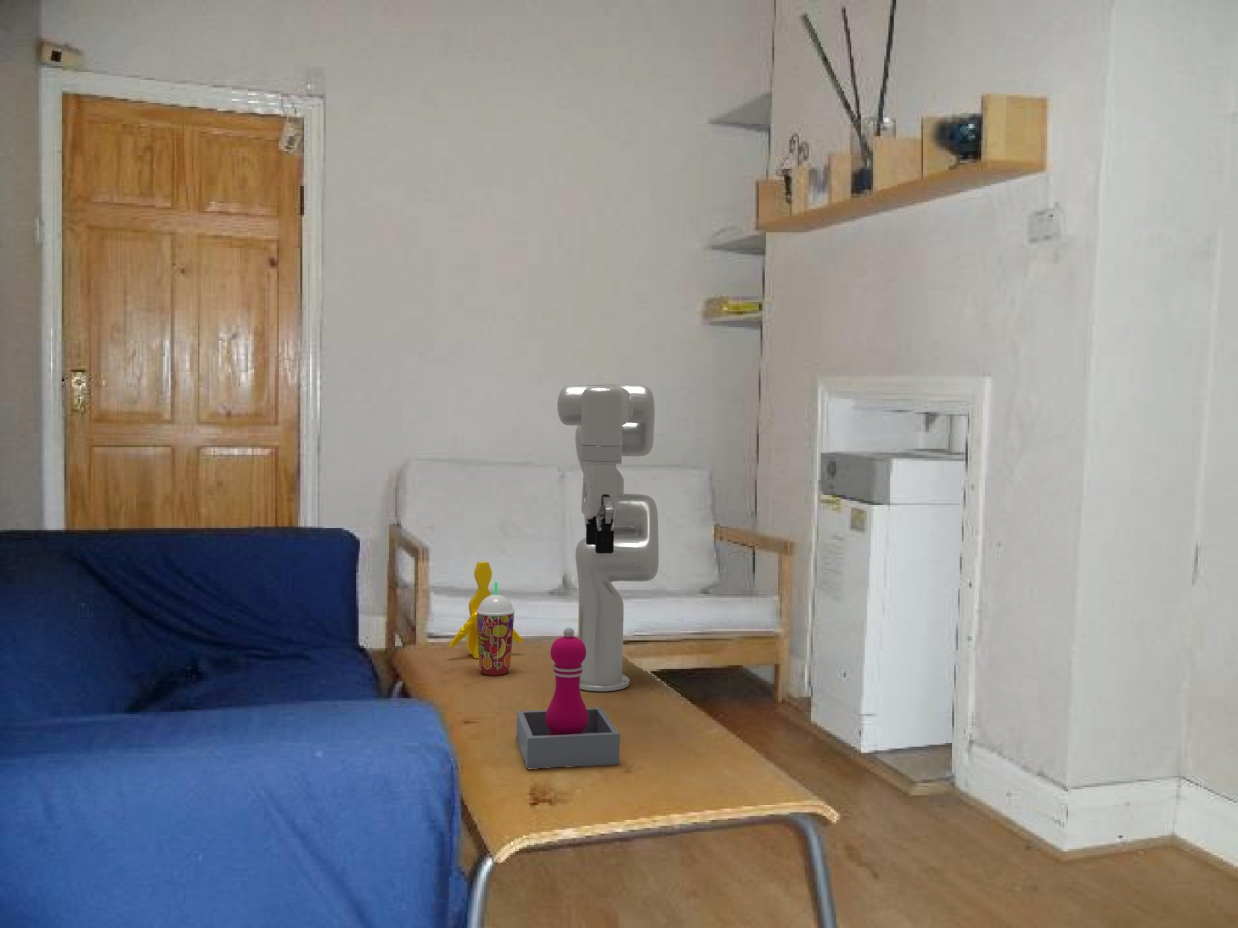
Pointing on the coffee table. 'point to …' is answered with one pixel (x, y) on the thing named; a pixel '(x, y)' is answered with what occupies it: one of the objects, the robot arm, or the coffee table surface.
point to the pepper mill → (567, 687)
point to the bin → (567, 741)
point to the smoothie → (495, 633)
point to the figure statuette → (470, 627)
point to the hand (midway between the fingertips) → (599, 548)
